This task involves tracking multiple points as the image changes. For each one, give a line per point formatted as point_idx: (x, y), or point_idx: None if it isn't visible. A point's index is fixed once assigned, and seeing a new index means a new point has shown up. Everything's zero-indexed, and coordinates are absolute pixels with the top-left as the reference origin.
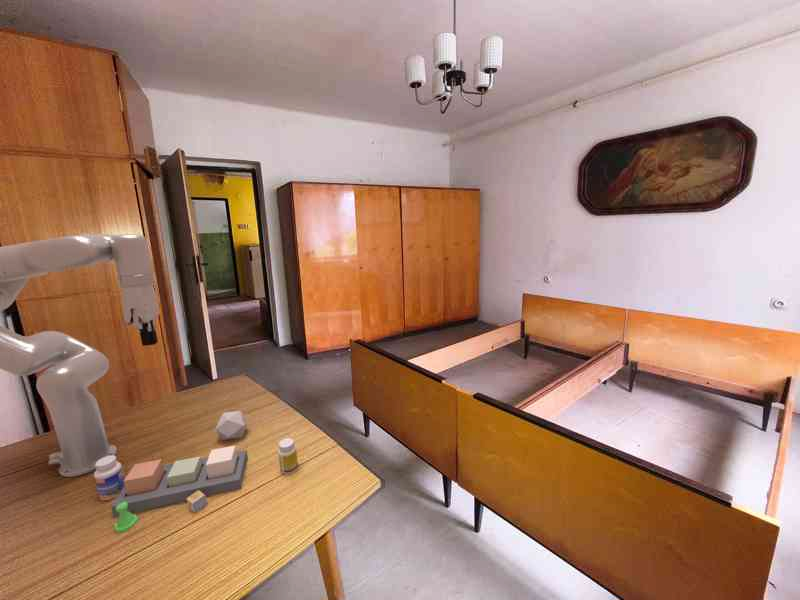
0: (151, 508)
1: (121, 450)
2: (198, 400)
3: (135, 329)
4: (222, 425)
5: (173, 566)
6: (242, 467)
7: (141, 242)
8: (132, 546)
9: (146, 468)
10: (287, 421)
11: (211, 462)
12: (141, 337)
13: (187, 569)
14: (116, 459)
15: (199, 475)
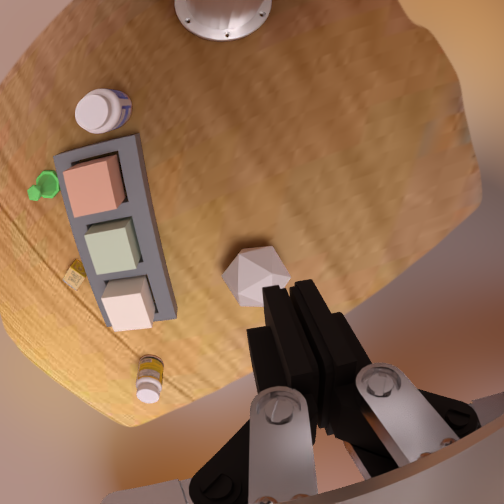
0: None
1: (251, 41)
2: (419, 137)
3: (117, 492)
4: (236, 275)
5: (11, 278)
6: None
7: None
8: (22, 216)
9: (92, 194)
10: None
11: (107, 305)
12: (277, 338)
13: (11, 293)
14: (102, 126)
15: None
